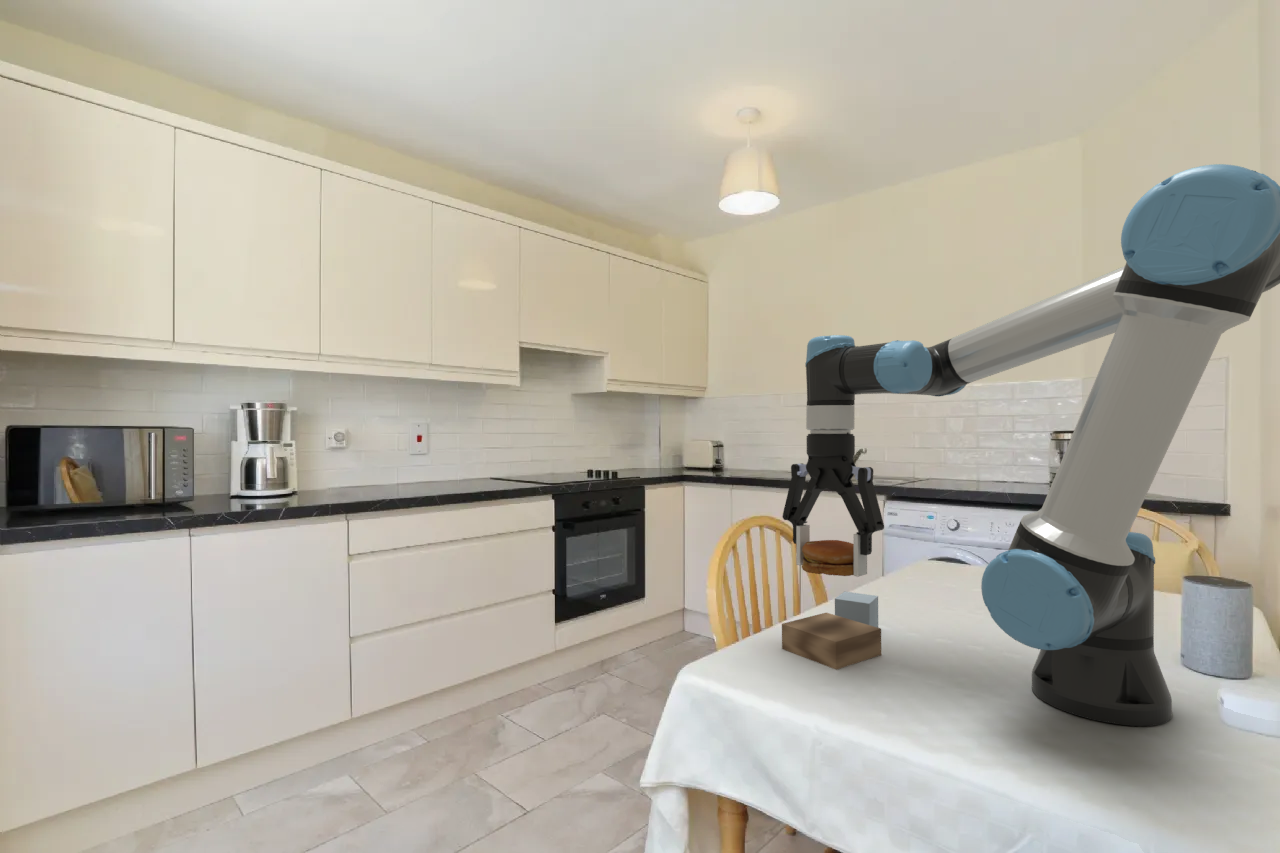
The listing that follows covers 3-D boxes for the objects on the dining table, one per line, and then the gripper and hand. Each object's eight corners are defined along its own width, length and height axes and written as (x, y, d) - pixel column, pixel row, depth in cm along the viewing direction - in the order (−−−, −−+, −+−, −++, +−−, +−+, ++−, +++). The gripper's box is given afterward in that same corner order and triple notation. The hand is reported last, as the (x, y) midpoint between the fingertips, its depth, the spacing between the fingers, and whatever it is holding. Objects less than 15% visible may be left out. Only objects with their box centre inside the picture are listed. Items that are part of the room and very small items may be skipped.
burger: (867, 578, 99) (867, 548, 99) (805, 577, 100) (805, 547, 100) (854, 564, 109) (854, 537, 109) (798, 563, 110) (798, 536, 110)
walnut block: (881, 656, 103) (881, 628, 103) (836, 671, 97) (835, 642, 97) (826, 638, 112) (826, 612, 112) (782, 651, 106) (781, 623, 106)
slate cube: (878, 629, 116) (878, 595, 116) (869, 638, 111) (869, 603, 111) (844, 623, 120) (844, 591, 120) (834, 632, 115) (834, 598, 115)
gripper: (908, 432, 99) (908, 578, 99) (787, 431, 116) (787, 555, 116) (883, 433, 94) (884, 586, 94) (760, 432, 111) (760, 561, 111)
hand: (830, 569), depth 105 cm, fingers closed on burger, 10 cm apart
